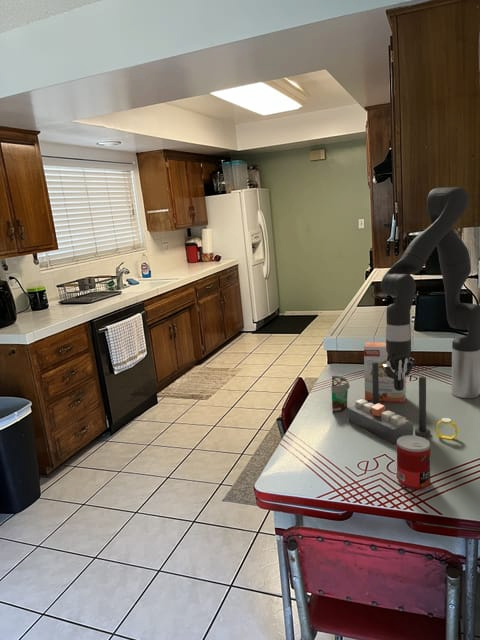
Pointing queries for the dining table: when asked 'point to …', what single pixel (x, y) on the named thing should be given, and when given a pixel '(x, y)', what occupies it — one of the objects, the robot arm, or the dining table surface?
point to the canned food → (413, 462)
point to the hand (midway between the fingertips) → (398, 389)
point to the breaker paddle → (378, 409)
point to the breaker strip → (379, 422)
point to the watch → (446, 421)
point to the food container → (339, 393)
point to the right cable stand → (422, 410)
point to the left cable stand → (375, 382)
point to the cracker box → (380, 374)
